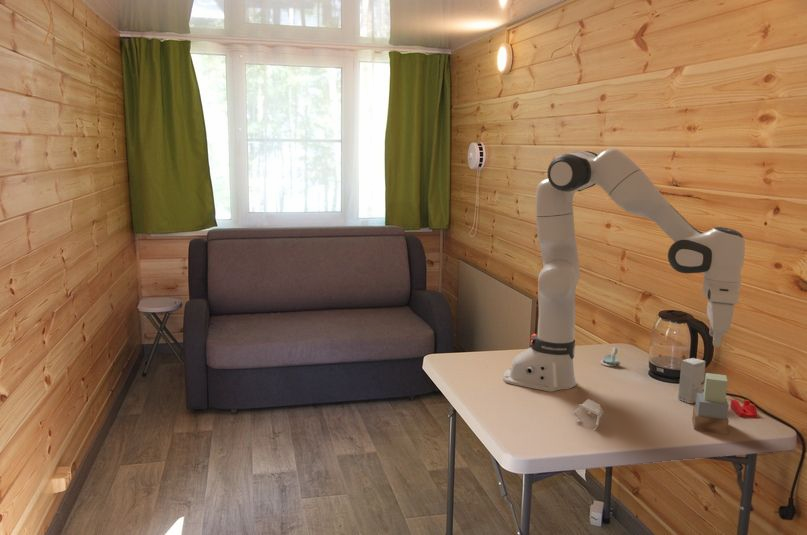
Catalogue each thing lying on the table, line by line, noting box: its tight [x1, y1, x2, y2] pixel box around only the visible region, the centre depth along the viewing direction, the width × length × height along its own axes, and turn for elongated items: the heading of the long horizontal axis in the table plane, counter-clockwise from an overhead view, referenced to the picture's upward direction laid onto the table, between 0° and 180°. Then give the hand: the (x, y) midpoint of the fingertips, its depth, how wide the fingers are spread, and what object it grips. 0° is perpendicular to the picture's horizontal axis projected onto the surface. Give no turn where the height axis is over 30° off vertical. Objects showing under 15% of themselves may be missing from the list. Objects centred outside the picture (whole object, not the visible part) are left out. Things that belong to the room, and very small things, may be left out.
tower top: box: [694, 392, 730, 420], centre depth 181 cm, size 7×7×4 cm
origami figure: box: [571, 398, 604, 431], centre depth 182 cm, size 12×8×5 cm
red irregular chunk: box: [729, 399, 759, 419], centre depth 192 cm, size 6×5×3 cm
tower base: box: [691, 405, 730, 435], centre depth 182 cm, size 8×8×4 cm
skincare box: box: [677, 357, 707, 404], centre depth 200 cm, size 6×4×12 cm
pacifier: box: [600, 346, 621, 368], centre depth 231 cm, size 7×6×6 cm
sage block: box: [703, 372, 728, 403], centre depth 181 cm, size 5×5×6 cm
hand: (714, 340), depth 180 cm, fingers open, 8 cm apart
